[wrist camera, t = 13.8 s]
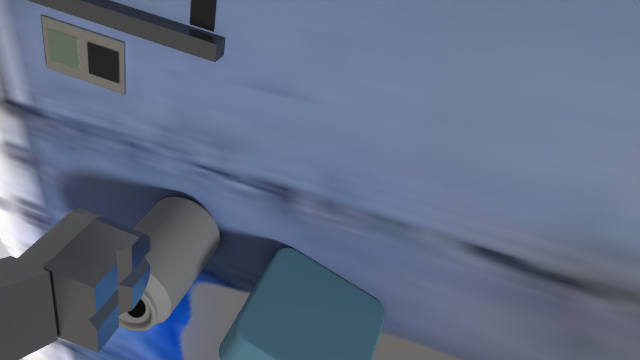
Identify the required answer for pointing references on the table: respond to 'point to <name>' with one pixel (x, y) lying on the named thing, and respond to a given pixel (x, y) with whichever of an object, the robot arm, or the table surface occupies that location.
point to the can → (172, 258)
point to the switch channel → (108, 53)
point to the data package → (304, 315)
